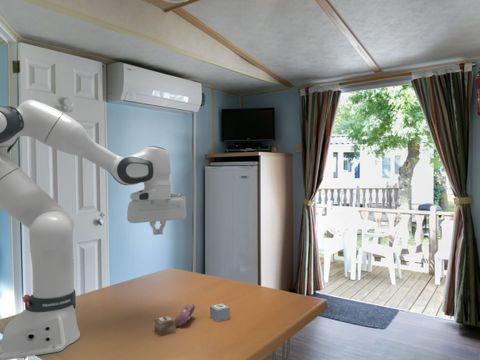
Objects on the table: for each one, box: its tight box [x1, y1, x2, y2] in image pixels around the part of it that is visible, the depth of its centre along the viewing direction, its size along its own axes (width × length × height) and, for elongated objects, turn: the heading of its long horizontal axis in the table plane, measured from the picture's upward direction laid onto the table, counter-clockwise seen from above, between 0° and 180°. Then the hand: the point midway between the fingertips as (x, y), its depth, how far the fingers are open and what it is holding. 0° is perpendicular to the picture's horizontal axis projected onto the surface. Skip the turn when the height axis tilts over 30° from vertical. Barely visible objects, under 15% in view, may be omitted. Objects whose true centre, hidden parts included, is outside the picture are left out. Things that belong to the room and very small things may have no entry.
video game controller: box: [173, 303, 196, 328], centre depth 124 cm, size 10×5×7 cm, turn 170°
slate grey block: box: [209, 303, 231, 323], centre depth 128 cm, size 5×5×4 cm
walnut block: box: [154, 315, 176, 337], centre depth 117 cm, size 5×5×4 cm
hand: (158, 234), depth 127 cm, fingers closed
